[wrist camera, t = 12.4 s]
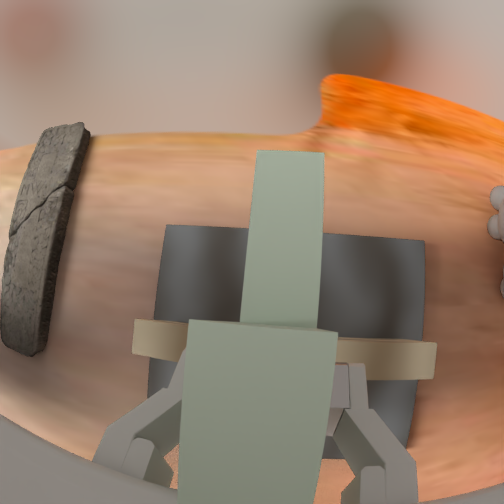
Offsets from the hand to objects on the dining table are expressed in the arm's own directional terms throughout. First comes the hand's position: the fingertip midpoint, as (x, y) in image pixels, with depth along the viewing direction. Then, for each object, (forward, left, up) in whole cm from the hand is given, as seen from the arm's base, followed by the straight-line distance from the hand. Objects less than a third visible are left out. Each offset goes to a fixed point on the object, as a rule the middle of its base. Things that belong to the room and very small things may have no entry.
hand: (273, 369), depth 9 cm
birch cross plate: (0, -1, -19) cm, 19 cm away
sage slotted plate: (0, -1, -8) cm, 8 cm away
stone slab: (-32, -3, -20) cm, 38 cm away
